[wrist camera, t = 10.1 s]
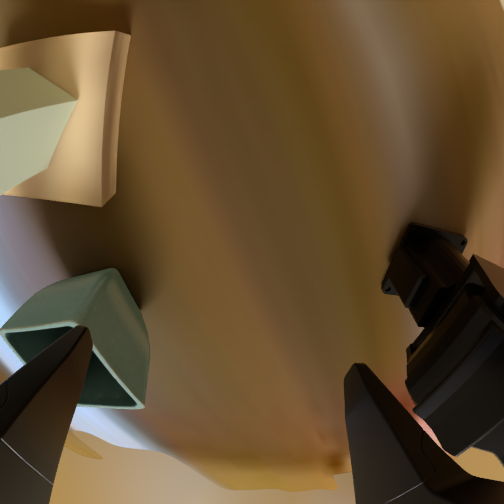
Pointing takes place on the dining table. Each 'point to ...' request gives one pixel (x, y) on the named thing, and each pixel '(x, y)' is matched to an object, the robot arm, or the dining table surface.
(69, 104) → the tea tin
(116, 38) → the tan square coaster
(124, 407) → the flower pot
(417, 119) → the dining table surface
